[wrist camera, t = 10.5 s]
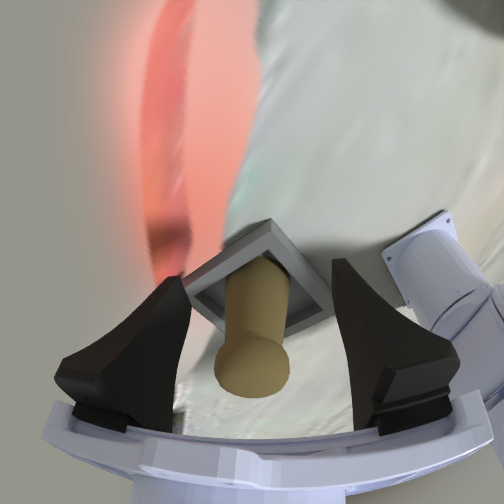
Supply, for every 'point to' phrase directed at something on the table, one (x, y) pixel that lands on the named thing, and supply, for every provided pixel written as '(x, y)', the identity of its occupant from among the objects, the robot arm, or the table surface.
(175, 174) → the table surface
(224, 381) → the cork
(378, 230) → the table surface
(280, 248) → the socket holder
